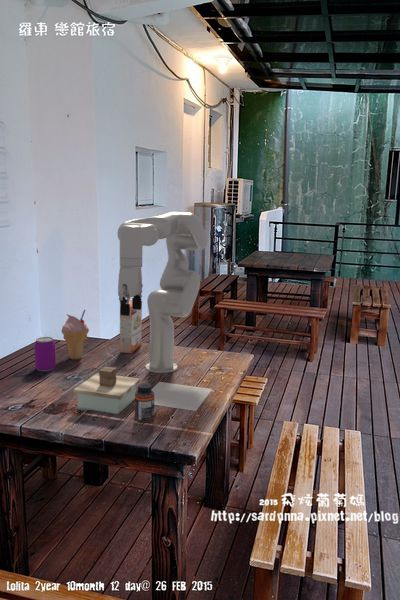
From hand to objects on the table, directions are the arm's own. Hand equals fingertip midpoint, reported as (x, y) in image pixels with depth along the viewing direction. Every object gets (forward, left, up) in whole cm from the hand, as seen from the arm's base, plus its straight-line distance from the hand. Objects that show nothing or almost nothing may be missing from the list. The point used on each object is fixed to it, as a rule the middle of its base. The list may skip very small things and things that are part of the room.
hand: (131, 312), depth 179 cm
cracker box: (-45, -20, -28) cm, 57 cm away
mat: (0, +17, -28) cm, 33 cm away
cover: (+14, -2, -22) cm, 26 cm away
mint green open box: (+14, -2, -28) cm, 32 cm away
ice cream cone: (-25, -36, -28) cm, 52 cm away
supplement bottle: (+20, +14, -28) cm, 38 cm away
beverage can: (-9, -40, -28) cm, 50 cm away
